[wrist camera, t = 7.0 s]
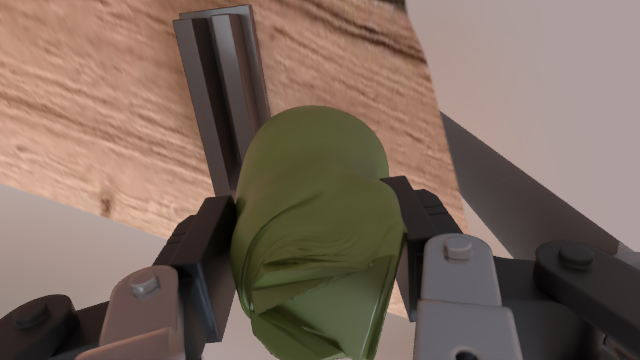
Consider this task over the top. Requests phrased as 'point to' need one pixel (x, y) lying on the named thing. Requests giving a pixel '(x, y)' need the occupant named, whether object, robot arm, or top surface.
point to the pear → (316, 236)
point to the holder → (224, 86)
